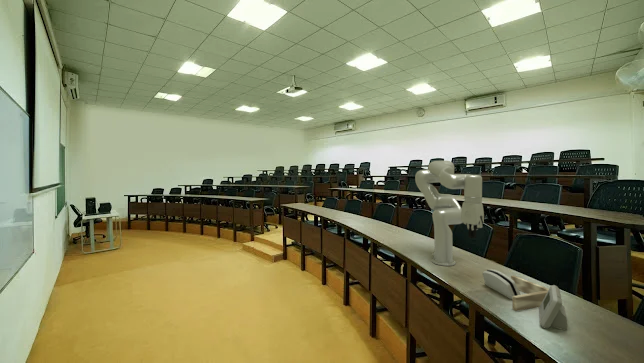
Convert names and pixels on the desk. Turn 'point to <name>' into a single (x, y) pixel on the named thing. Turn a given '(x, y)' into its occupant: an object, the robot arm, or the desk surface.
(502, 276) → the white pencil case
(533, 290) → the wooden corner wall
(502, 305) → the desk surface
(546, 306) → the digital clock
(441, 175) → the robot arm
